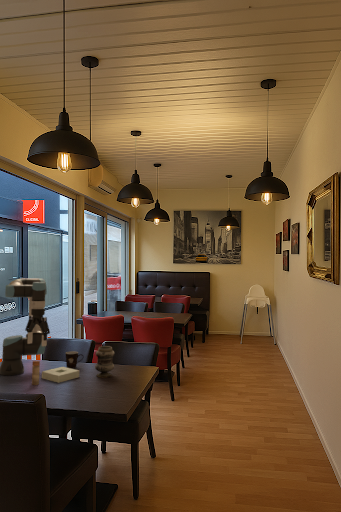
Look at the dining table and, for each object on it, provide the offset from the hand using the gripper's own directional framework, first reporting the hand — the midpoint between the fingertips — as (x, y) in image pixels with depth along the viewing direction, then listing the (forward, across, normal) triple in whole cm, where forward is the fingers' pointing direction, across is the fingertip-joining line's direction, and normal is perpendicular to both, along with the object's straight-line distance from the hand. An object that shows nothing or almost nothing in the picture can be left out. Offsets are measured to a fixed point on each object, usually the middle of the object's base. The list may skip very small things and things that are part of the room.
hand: (36, 344), depth 218 cm
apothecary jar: (+23, +18, +38) cm, 48 cm away
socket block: (+23, 0, +18) cm, 29 cm away
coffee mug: (+23, -14, +40) cm, 48 cm away
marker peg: (+23, 0, 0) cm, 23 cm away
